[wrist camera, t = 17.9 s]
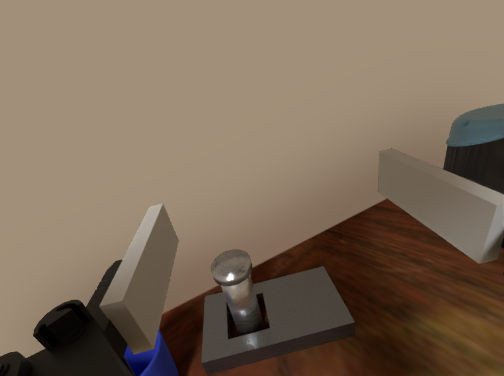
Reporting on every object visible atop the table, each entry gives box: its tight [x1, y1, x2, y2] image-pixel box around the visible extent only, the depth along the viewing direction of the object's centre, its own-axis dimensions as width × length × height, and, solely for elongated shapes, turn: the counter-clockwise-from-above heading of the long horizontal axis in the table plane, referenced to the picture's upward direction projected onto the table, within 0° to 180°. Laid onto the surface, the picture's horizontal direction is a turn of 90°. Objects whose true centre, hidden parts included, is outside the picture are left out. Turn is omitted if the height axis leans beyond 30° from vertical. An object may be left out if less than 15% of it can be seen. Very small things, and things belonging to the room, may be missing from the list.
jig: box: [202, 266, 355, 375], centre depth 39 cm, size 22×11×3 cm, turn 98°
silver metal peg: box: [211, 249, 264, 336], centre depth 36 cm, size 6×6×14 cm
